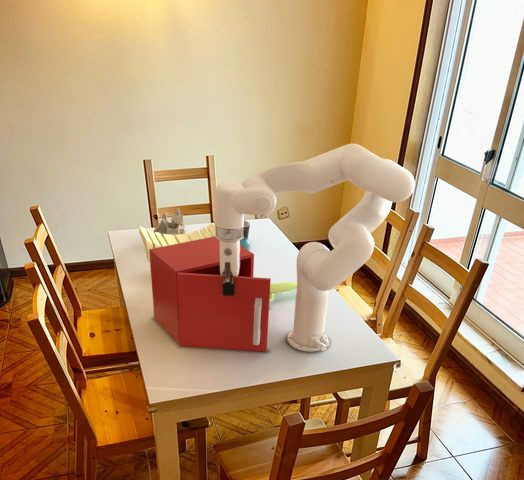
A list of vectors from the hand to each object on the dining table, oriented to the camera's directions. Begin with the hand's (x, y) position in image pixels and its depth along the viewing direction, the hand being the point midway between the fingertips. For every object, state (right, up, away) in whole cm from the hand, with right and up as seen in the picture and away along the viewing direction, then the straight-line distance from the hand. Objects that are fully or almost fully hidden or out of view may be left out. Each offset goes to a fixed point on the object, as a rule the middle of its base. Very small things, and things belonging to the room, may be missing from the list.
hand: (228, 293), depth 156 cm
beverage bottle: (+1, +9, +49) cm, 50 cm away
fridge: (-10, -6, +23) cm, 26 cm away
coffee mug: (0, +28, +79) cm, 83 cm away
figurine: (+17, +2, +38) cm, 42 cm away
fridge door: (-2, -17, +8) cm, 19 cm away
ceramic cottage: (-29, +27, +75) cm, 85 cm away
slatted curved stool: (-19, +12, +52) cm, 56 cm away
